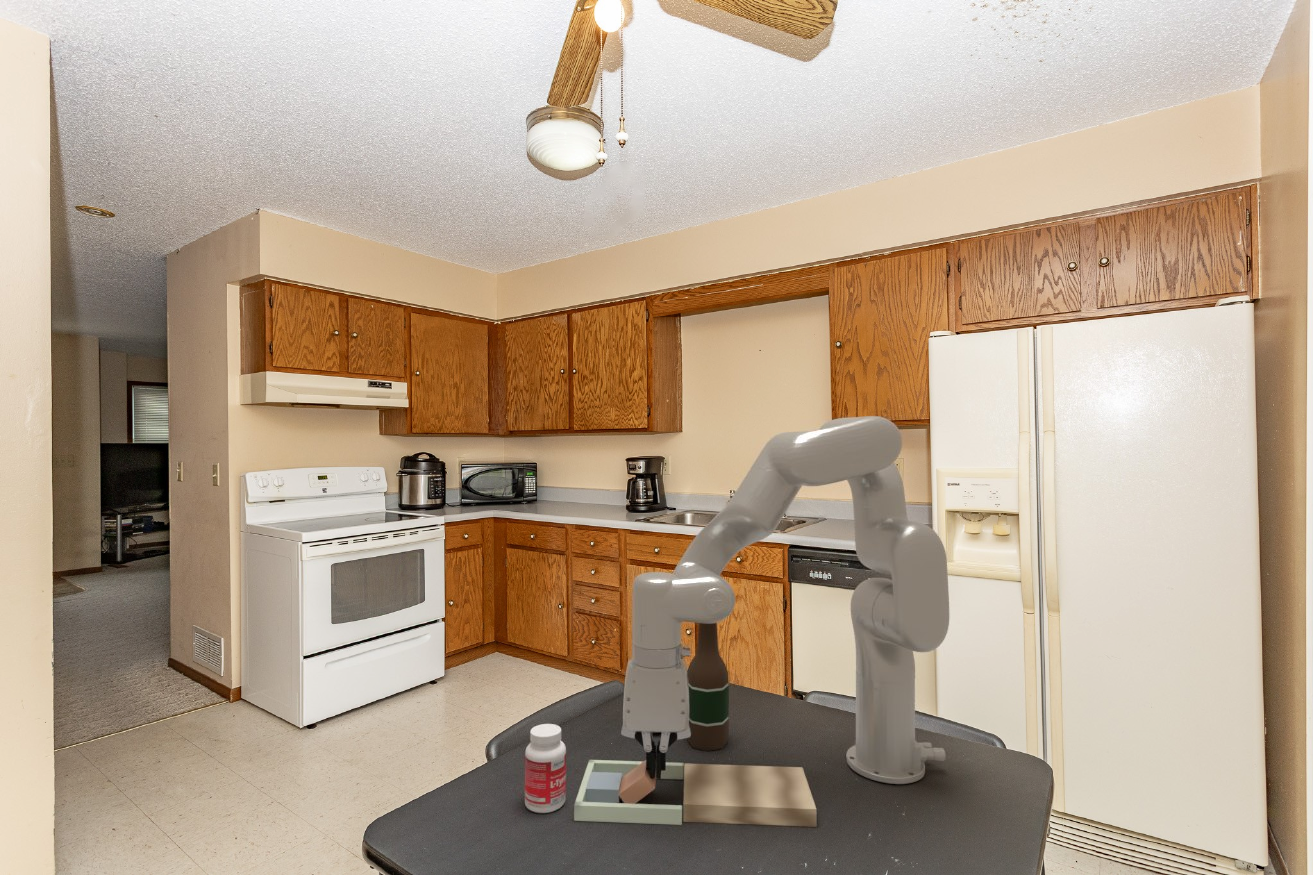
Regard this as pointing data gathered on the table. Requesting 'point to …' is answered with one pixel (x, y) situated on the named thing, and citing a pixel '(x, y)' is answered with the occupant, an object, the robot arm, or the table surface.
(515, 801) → the table surface
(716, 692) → the beer bottle
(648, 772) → the terracotta tile
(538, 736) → the pill bottle
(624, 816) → the u-shaped frame
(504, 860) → the table surface
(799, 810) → the wooden cutting board
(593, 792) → the slate tile
